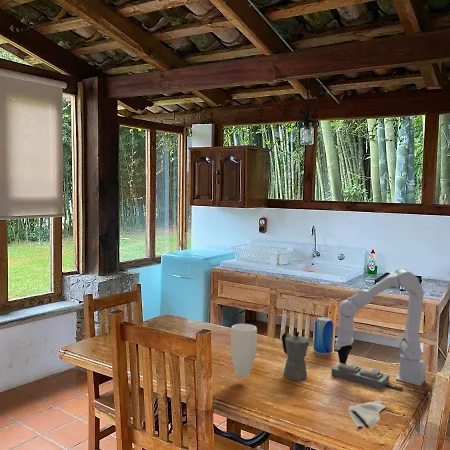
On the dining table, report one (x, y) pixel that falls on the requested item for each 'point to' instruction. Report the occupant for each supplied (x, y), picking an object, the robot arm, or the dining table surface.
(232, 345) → the cup
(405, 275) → the robot arm
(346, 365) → the rocker outer
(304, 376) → the coffeepot
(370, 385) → the power strip
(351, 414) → the cloth
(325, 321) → the beer can
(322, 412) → the dining table surface
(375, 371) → the rocker inner
